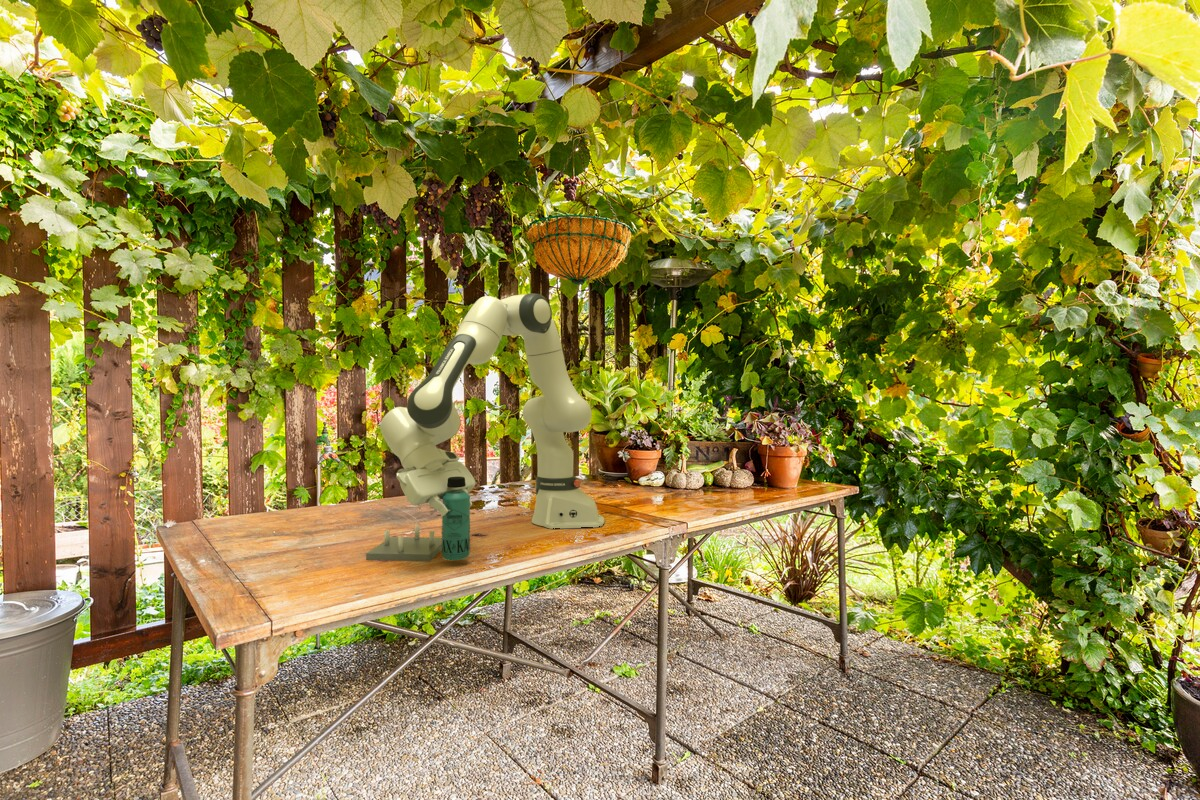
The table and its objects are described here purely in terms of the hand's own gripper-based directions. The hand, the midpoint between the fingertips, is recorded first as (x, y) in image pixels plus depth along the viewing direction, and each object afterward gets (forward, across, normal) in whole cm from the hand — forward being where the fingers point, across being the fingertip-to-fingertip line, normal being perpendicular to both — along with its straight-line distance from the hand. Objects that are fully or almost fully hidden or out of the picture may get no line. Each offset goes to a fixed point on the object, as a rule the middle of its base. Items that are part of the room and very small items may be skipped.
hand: (458, 510), depth 128 cm
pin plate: (-3, +2, +21) cm, 21 cm away
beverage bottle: (+8, 0, +9) cm, 13 cm away
